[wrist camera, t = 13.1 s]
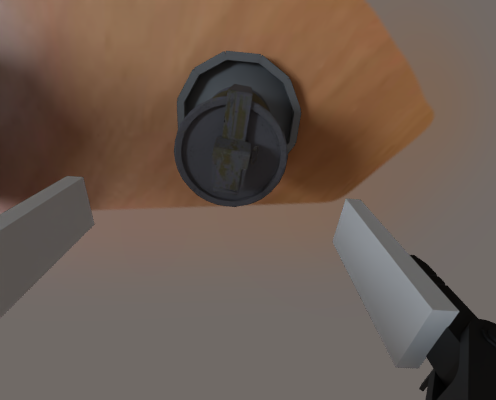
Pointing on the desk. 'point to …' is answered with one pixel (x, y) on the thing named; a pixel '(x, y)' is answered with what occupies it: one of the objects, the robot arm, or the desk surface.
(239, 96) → the canister
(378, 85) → the desk surface
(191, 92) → the round tray
